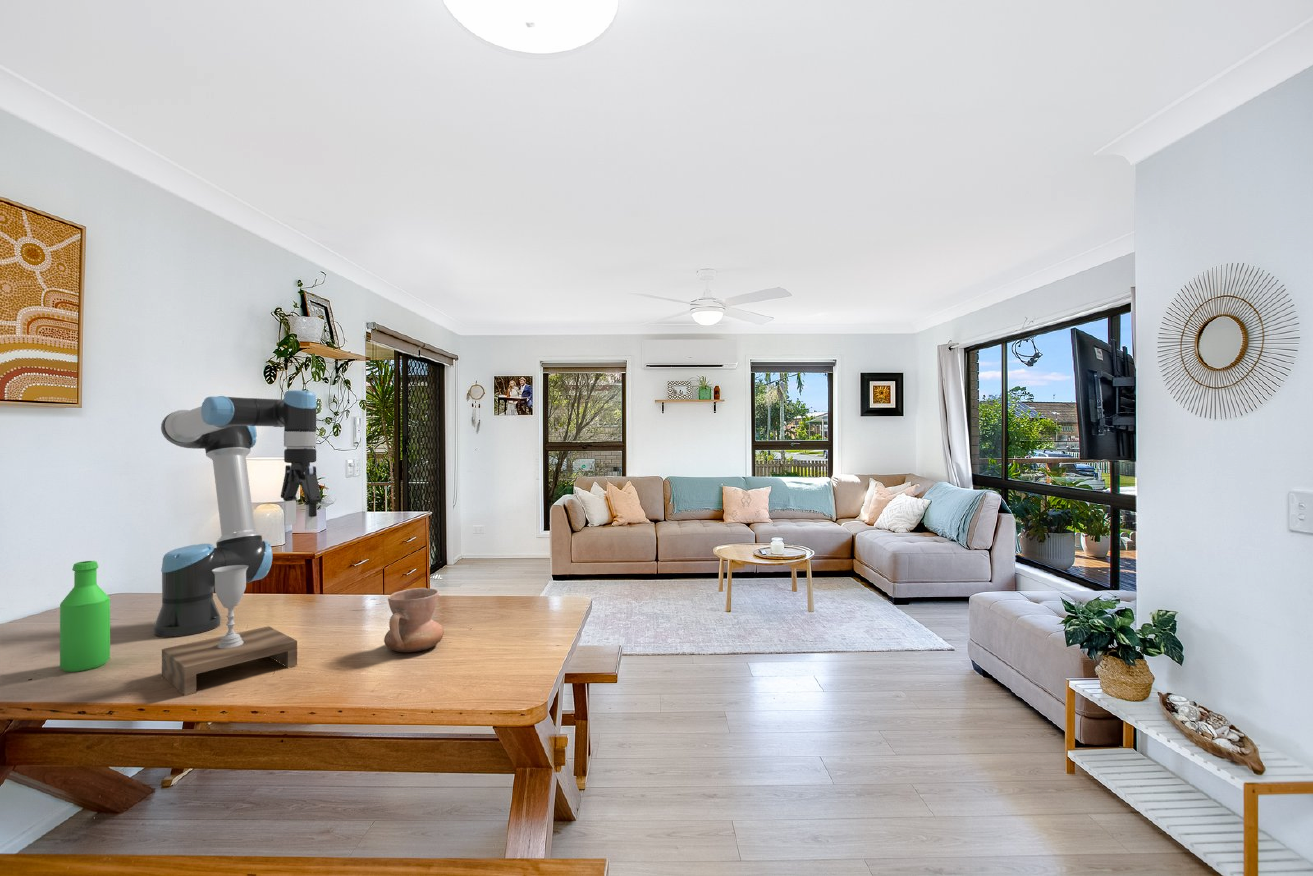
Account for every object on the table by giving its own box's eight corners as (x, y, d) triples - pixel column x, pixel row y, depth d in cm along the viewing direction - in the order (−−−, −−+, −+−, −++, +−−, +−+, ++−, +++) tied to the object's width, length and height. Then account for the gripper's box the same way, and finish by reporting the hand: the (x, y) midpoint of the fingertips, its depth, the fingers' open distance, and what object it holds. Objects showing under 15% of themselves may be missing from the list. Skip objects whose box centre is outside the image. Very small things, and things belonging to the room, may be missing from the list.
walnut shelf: (161, 675, 141) (161, 649, 141) (268, 649, 158) (268, 626, 158) (184, 695, 130) (184, 667, 130) (297, 665, 147) (297, 640, 147)
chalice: (229, 650, 140) (229, 572, 140) (204, 649, 141) (204, 571, 141) (256, 640, 147) (255, 565, 147) (232, 638, 148) (232, 564, 148)
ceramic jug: (410, 634, 170) (409, 584, 170) (457, 638, 167) (456, 586, 166) (365, 659, 153) (364, 602, 152) (416, 663, 149) (415, 605, 149)
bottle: (66, 676, 141) (66, 567, 141) (54, 668, 145) (54, 563, 145) (116, 664, 148) (115, 560, 148) (102, 657, 153) (102, 557, 153)
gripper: (335, 448, 160) (335, 529, 160) (296, 447, 176) (296, 521, 176) (304, 448, 154) (304, 532, 154) (267, 447, 170) (267, 524, 170)
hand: (300, 526), depth 165 cm, fingers open, 13 cm apart
